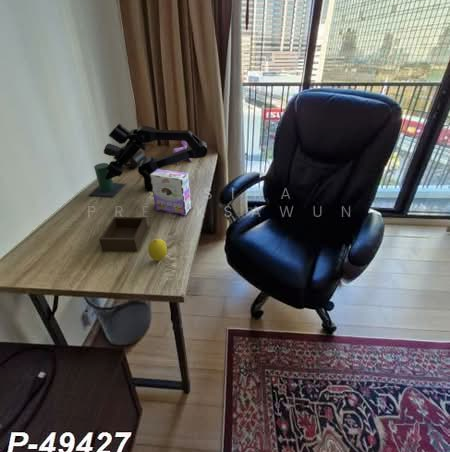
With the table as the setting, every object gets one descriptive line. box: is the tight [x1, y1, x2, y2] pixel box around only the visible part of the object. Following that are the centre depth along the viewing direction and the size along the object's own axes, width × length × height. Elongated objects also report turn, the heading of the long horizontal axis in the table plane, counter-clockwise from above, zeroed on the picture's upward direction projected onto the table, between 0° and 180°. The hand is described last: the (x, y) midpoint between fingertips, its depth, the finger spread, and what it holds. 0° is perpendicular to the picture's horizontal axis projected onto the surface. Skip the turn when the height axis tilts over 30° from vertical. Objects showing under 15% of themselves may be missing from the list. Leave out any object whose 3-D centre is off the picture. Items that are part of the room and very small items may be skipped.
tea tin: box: [93, 162, 114, 192], centre depth 113 cm, size 6×6×12 cm
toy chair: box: [172, 141, 193, 165], centre depth 140 cm, size 8×9×15 cm
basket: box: [98, 216, 149, 252], centre depth 86 cm, size 12×12×5 cm
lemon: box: [147, 238, 168, 262], centre depth 77 cm, size 6×6×8 cm
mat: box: [89, 182, 125, 198], centre depth 116 cm, size 11×11×1 cm
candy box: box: [150, 168, 192, 216], centre depth 99 cm, size 14×6×16 cm, turn 71°
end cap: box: [125, 150, 147, 170], centre depth 138 cm, size 10×7×7 cm
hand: (109, 174), depth 113 cm, fingers open, 9 cm apart
